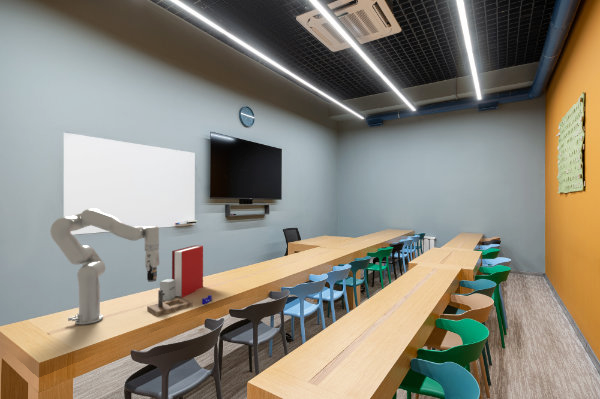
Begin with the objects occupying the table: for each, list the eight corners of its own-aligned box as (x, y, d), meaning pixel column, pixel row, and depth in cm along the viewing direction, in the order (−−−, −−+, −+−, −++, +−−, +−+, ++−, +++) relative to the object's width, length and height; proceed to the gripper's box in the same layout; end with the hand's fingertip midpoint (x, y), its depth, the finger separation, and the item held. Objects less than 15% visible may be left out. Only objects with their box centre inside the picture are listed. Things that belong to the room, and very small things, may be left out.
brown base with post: (156, 316, 173) (157, 294, 173) (147, 310, 183) (147, 289, 183) (192, 306, 190) (192, 286, 190) (181, 301, 199) (181, 282, 199)
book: (181, 297, 206) (182, 251, 206) (171, 296, 208) (172, 250, 208) (204, 286, 233) (204, 245, 233) (194, 285, 235) (195, 245, 235)
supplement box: (169, 301, 200) (169, 282, 200) (159, 300, 201) (159, 281, 201) (175, 297, 207) (175, 279, 207) (166, 296, 208) (166, 278, 208)
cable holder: (207, 300, 201) (207, 294, 201) (211, 301, 200) (211, 295, 200) (199, 304, 193) (200, 298, 193) (204, 305, 192) (204, 299, 192)
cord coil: (155, 281, 173) (154, 267, 173) (146, 282, 172) (146, 268, 172) (157, 279, 177) (157, 266, 177) (149, 279, 177) (149, 266, 177)
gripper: (153, 249, 167) (153, 282, 167) (163, 245, 184) (163, 274, 184) (139, 250, 166) (139, 282, 166) (150, 245, 183) (150, 275, 183)
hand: (152, 278), depth 175 cm, fingers closed on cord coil, 4 cm apart
